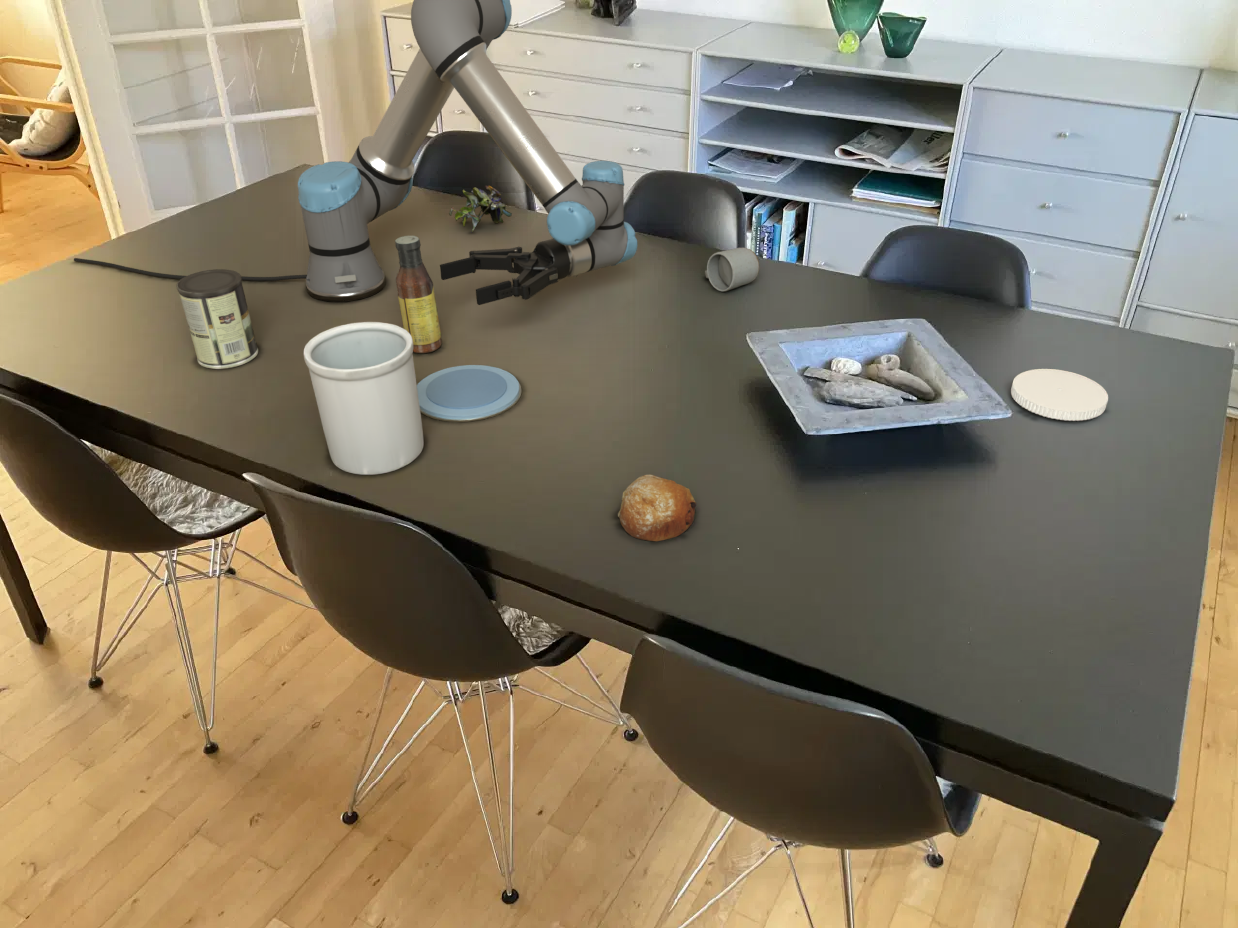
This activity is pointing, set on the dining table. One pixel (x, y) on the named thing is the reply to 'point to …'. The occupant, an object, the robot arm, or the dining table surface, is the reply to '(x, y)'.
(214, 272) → the coffee can
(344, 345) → the utensil holder
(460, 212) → the passion flower
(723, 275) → the ceramic mug
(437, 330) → the sauce bottle
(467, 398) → the blue plate
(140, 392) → the dining table surface
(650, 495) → the bread roll
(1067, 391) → the plastic lid
